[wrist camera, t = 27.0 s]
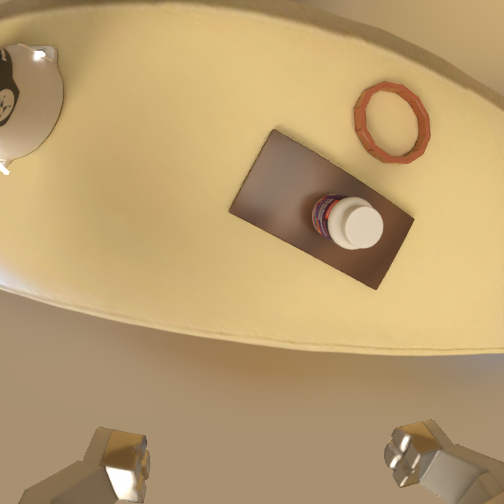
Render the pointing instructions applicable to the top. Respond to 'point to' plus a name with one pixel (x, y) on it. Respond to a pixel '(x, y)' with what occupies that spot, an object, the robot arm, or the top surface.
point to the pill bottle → (347, 221)
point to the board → (302, 204)
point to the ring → (419, 111)
